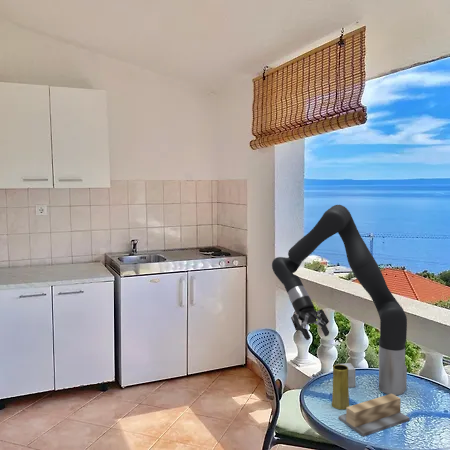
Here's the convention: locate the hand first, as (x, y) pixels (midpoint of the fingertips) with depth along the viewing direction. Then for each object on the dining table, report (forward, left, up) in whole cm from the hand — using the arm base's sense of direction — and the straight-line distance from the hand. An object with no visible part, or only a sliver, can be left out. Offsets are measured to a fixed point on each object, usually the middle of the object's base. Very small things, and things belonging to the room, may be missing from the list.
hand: (318, 337), depth 176 cm
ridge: (-4, +25, -21) cm, 33 cm away
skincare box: (-13, 0, -22) cm, 25 cm away
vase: (-1, +12, -22) cm, 25 cm away
